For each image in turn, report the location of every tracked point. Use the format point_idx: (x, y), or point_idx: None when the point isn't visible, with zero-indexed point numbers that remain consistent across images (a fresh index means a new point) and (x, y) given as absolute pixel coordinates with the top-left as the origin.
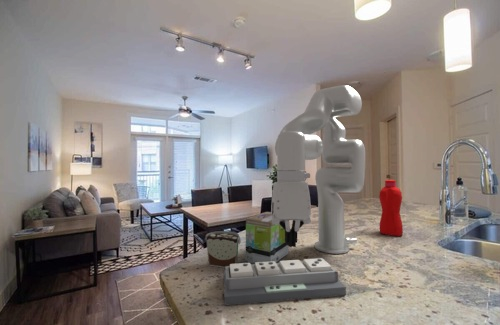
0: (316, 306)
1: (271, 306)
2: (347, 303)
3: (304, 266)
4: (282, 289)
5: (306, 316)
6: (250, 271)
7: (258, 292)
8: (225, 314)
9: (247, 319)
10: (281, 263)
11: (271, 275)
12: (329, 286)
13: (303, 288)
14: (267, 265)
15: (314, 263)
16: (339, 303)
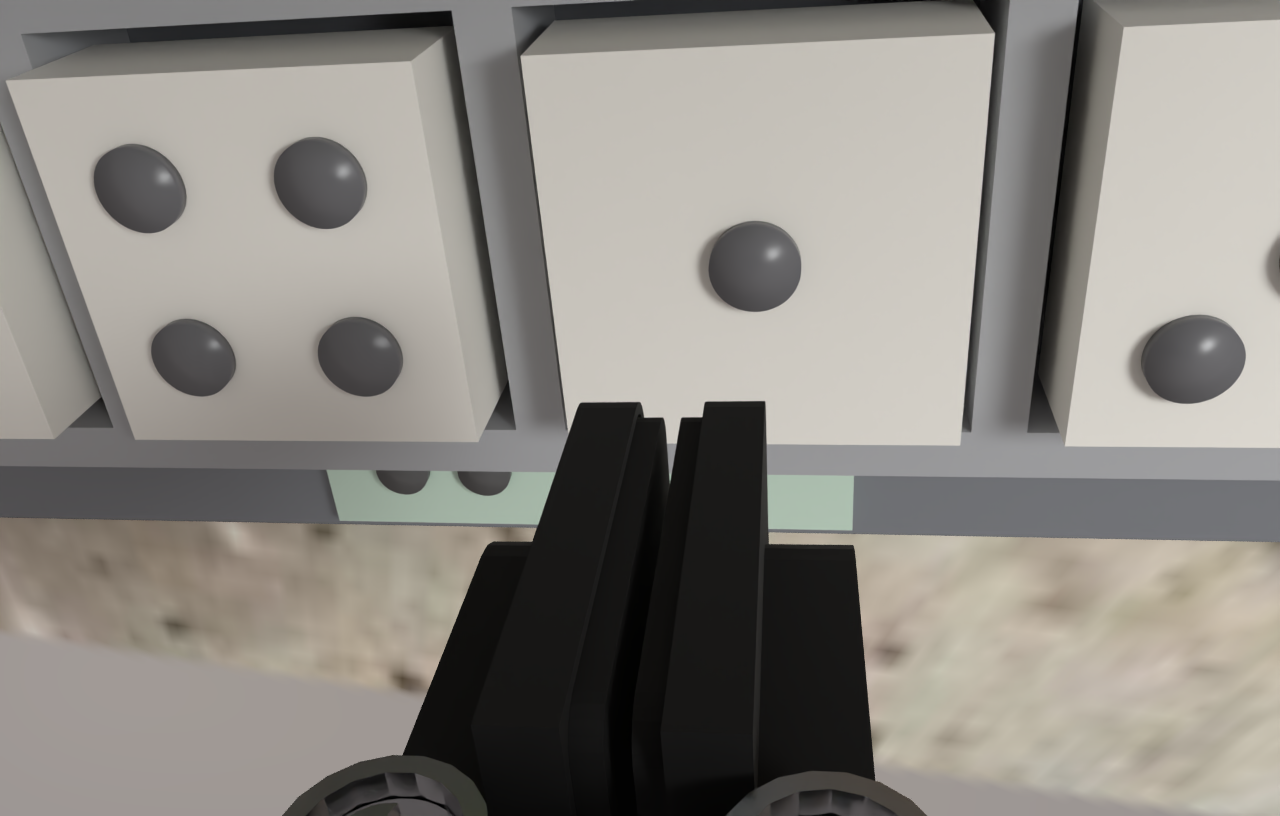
0: (886, 603)
1: (426, 539)
2: (1262, 611)
3: (961, 387)
4: (532, 512)
5: None
6: (15, 431)
7: (251, 496)
8: (26, 577)
9: (223, 655)
10: (541, 197)
11: (360, 441)
12: (1208, 498)
13: (807, 529)
14: (264, 251)
15: (1250, 284)
16: (1170, 598)
